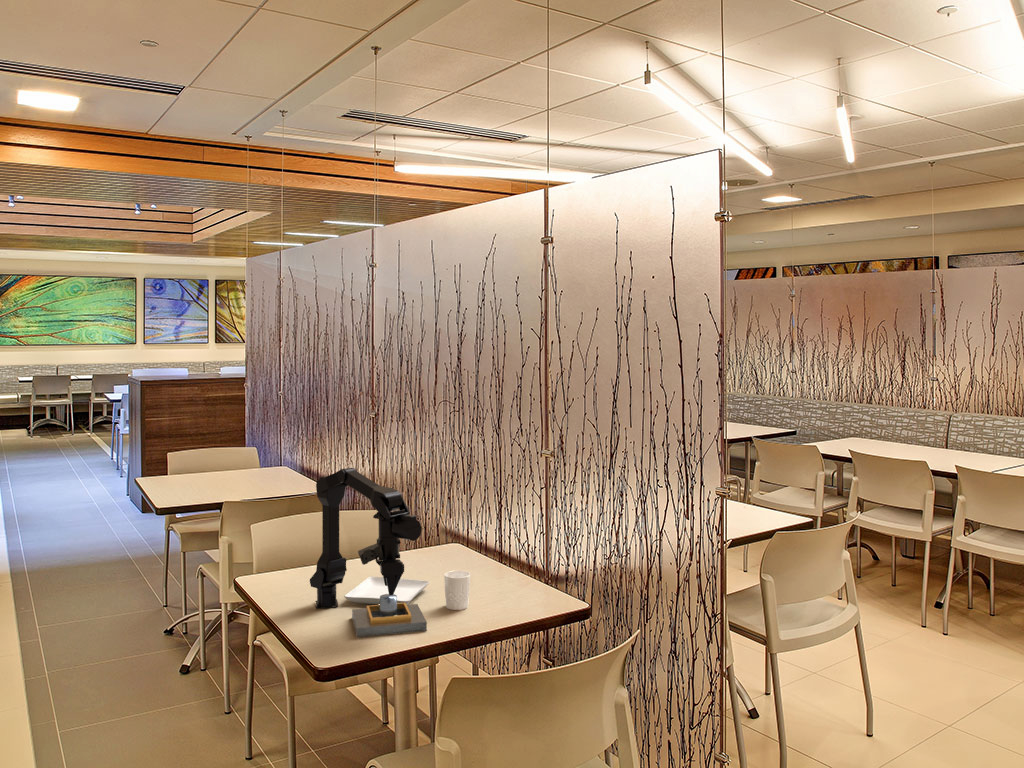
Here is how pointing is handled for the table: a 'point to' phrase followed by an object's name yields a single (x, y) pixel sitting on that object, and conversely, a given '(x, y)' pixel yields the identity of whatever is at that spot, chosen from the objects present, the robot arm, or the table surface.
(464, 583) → the white cup
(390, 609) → the can
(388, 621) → the grey and gold frame
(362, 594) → the salad plate
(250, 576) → the table surface
